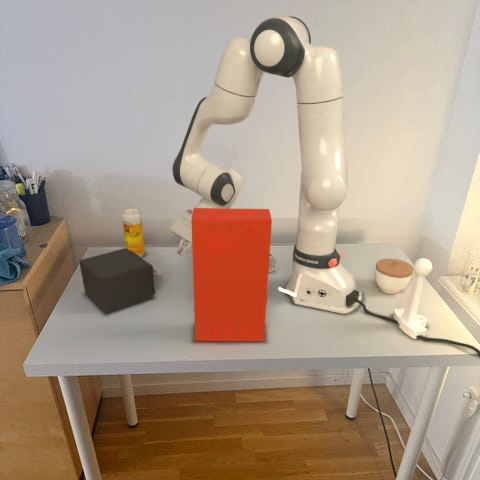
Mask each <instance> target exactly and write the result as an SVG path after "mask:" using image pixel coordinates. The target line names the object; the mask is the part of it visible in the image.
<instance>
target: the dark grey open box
mask: <svg viewBox="0 0 480 480" xmlns="http://www.w3.org/2000/svg"><path fill="white" fill-rule="evenodd" d="M142 259H143V258H142ZM142 259H140V258H139V257H138V256H136V255H135V254H134V253H132V252H131V251H130V250H128V249H127V248H126V247H123V248H120V249H117V250H113V251H109V252H105V253H100V254H98V255H94V256H91V257H86V258H83V259H79V260H78V262H79V267H80V273H81V279H82V283H83V289H84V294H85V295H86V296H87V297H88V299H90V300H91V301H92V302H93V303H94V304H95V305H96V306H97V307H98V308H99V309H100V310H101V311H102V313H104V314H105V315H108V314H109V315H110V314H111V313H114V312H118V311H120V310H124V309H126V308H129V307H132V306H136V305H138V304H141V303H144V302H147V301H150V300H152V299H153V294H152V290H151V279H150V267H149V264H147V263H146V262H145V261H146V260H145V261H143V260H142Z"/></svg>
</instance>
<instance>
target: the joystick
mask: <svg viewBox="0 0 480 480" xmlns="http://www.w3.org/2000/svg"><path fill="white" fill-rule="evenodd" d="M412 267H413V273H414V274H415V276H414V279H413V282H412V285H411V289H410V292H409V294H408V298H407V301H406V304H405V307H400V308H395V309H394V310H393V315H392V319H394V320H396V321H398V323H399V325H400V326H399V325H397V327H398V328H399V329H400V330H401V331H402V332H403V333H404V334H406V335H407V336H409V338H411V339H417V338H416V336H418V335H419V336H423V337H426V335H427V331H428V329H427V327H426V326H427V323H428V321H429V320H428V318H427V317H426V316H425V315H423V314H418V309H419V305H420V301H421V296H422V291H423V288H424V282H425V279H426V277H427V276H428V275H430V273H432V271H433V263H432V262H431V260H430V259H428V258H427V257H426V258H425V257H422V258H421V257H420V258H418V259H416V260H415V261H414V263H413V265H412Z"/></svg>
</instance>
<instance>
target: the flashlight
mask: <svg viewBox="0 0 480 480" xmlns="http://www.w3.org/2000/svg"><path fill="white" fill-rule="evenodd" d="M277 265H278V261H277V259H276V257H274V256H273V255H272V254H271V253H270V256H269V272H268V273H270V272H273V271H274V270H275V269H276V267H277Z"/></svg>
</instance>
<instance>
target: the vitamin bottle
mask: <svg viewBox="0 0 480 480" xmlns="http://www.w3.org/2000/svg"><path fill="white" fill-rule="evenodd" d="M121 219H122V226H123V227H122V228H123V235H124V242H125V248H127V249H128V250H130V251H133V252H134V253H136V254H137V255H138V256H140V257H143V256H144V254H145V252H146V250H145V238H144V230H143V219H142V213H141V211H140V210H139V209H138V208H127V209H125V210H123V211H122V215H121Z"/></svg>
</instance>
